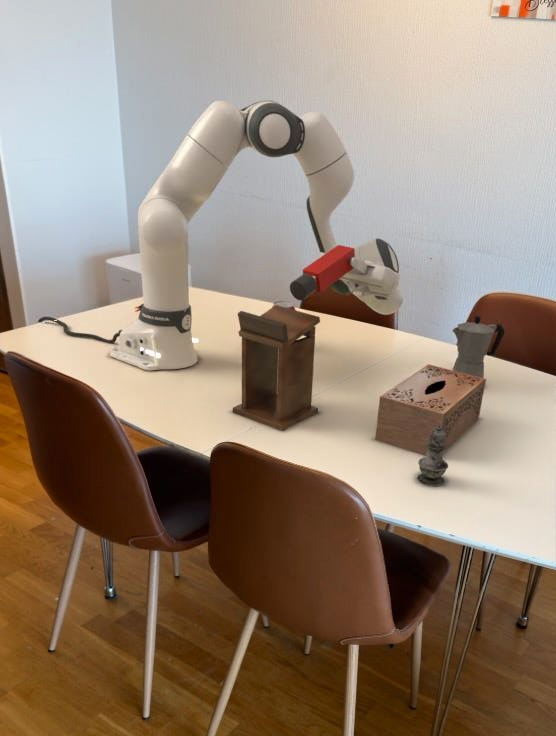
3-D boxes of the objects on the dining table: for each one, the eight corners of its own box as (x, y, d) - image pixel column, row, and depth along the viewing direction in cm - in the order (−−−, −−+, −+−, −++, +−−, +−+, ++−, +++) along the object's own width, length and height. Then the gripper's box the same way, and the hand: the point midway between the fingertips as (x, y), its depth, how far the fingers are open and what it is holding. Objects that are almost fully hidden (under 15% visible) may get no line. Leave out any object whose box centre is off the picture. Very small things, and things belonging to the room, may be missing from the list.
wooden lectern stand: (271, 395, 170) (273, 299, 158) (318, 412, 164) (324, 313, 152) (232, 412, 160) (232, 311, 148) (281, 430, 154) (284, 326, 142)
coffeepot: (453, 392, 182) (465, 322, 173) (435, 379, 189) (446, 311, 180) (504, 388, 188) (517, 320, 178) (485, 375, 195) (497, 309, 186)
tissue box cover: (422, 403, 174) (428, 364, 169) (478, 418, 168) (486, 378, 163) (375, 439, 154) (379, 396, 149) (436, 458, 149) (443, 414, 143)
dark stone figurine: (413, 472, 143) (421, 416, 136) (442, 473, 143) (451, 418, 137) (418, 486, 138) (427, 429, 131) (448, 487, 138) (458, 431, 132)
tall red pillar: (338, 284, 169) (341, 244, 164) (354, 288, 167) (357, 247, 162) (287, 299, 155) (289, 255, 150) (304, 303, 153) (305, 259, 148)
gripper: (335, 260, 179) (308, 236, 166) (406, 276, 170) (382, 252, 157) (327, 284, 179) (299, 262, 167) (396, 301, 170) (372, 280, 158)
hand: (340, 257), depth 162 cm, fingers closed on tall red pillar, 4 cm apart
